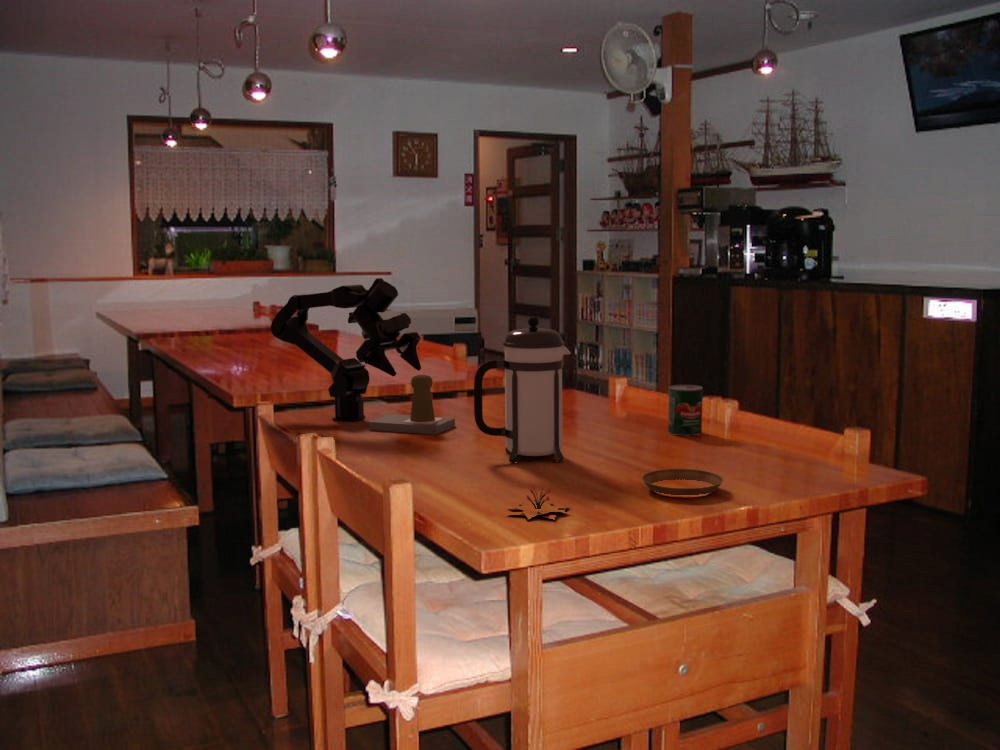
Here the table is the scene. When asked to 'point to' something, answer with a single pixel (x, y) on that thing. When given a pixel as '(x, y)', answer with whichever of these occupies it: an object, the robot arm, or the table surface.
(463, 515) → the table surface
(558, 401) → the coffee press
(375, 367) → the robot arm
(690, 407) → the canned tomato
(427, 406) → the cork
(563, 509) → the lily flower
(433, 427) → the dock step
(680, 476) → the plant saucer
